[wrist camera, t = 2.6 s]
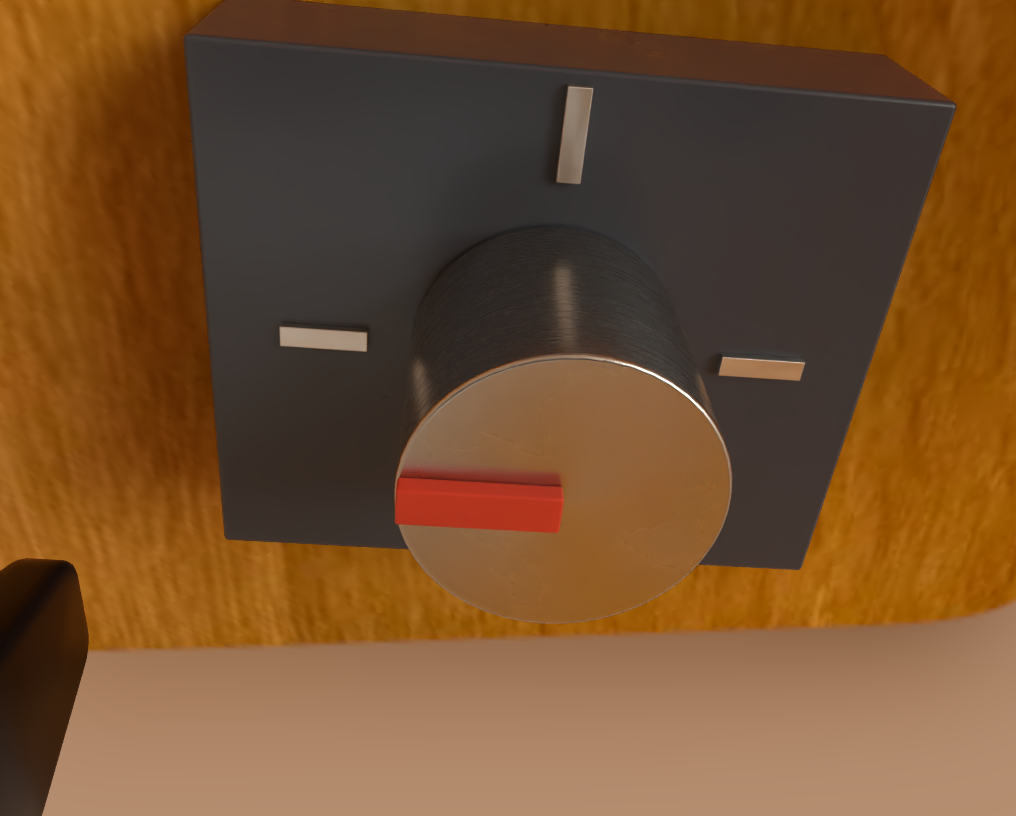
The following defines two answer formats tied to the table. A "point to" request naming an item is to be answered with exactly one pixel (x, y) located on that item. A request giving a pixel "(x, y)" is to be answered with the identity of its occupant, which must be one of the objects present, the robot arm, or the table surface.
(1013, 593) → the table surface
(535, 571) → the valve knob
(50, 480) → the table surface
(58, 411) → the table surface
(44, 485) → the table surface
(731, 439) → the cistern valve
